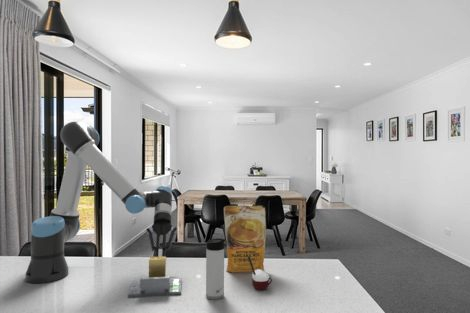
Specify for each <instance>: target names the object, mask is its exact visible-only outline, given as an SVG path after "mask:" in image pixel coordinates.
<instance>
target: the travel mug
mask: <svg viewBox="0 0 470 313" xmlns="http://www.w3.org/2000/svg"><path fill="white" fill-rule="evenodd" d="M225 242H226V238H221V237H220V238H219V237H218V238H212V239H209V240H207V241H206V249H205V250H206V252H205V254H206V255H205V257H206V258H205V263H206V264H205V265H206V266H205V269H206V270H205V279H206V280H205V285H206V286H205V296H206V298H207V299H208V300H211V301H213V300H214V301H215V300H217V301H218V300H221V299H223V298H224V296H225Z"/></svg>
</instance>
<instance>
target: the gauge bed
mask: <svg viewBox="0 0 470 313" xmlns="http://www.w3.org/2000/svg"><path fill="white" fill-rule="evenodd" d="M182 280H183V279H182V278H170V277H149V276H148V277H140V279H138V280H134V281H133V283H132V284H131V287H130V290H129V291H128V294H127V298H140V297H141V298H143V297H159V296H162V297H164V296H177V295H179V296H180V295H181V294H182Z"/></svg>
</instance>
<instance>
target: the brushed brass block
mask: <svg viewBox="0 0 470 313" xmlns="http://www.w3.org/2000/svg"><path fill="white" fill-rule="evenodd" d="M149 277H170V279H176V278H178V275H167V256H166V255H165V256H160V257H155V256H150V257H149V259H148V278H149Z"/></svg>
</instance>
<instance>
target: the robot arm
mask: <svg viewBox="0 0 470 313" xmlns="http://www.w3.org/2000/svg"><path fill="white" fill-rule="evenodd" d="M59 135H60V136H59V137H60V140H61V142H62V143H63V145H64V146H65V149H64V151H65V153H66V154H67V157H66V162H65V167H64V171H63V175H62V179H61V183H60V184H61V185H60V189H59V193H58V197H57V202H56V207H55V208H53V209H52V210H51V212H50V215H49V216H45V217H40V218H37V219H35V220H33V222H31V223H32V224H31V229H30V261H29V264H28V266H27V269H26V272H25V277H24V280H26V283H29V282H30V283H29V284H44V283H45V284H46V283H50V281H51V282H54V280H55V281H58V280H57V279H59V280H61V279H63V277H64V278H66V277H67V276H68V275H69V266H68V263H67V260H66V257H65V244H66V242H68V241H70V240H72V239H74V237H75V236H77V234H78V233H79V231H80V227H81V222H80V220H79V219H80V215H81V213H80V212H79V210H78V207H79V203H80V198H81V193H82V188H83V186H84V185H83V184H84V180H85V175H86V172H87V167H89V169H91V170H92V172H94V173H95V174H96V175H97V177H98V178H99V179H100V180H101V181H102V182H103V183H104V184H105V185H106V186H107V187H108V188H109V189H110V190H111V191H112V193H114V195H116V196H117V198H118V199H119V200H120V201H121V202H122V203H123V204H124V206H125V209H126V211H127V212H128V213H130V214H135V215H137V214H139V213H141V212H143V211H144V209H149V208H151V209H152V208H154V209H153V210H154V213H153V224H152V225H151V227H150V228H146V234H147V235H148V237H149V244H150V248H151V251H152V252H155V256H154V257H160V256H166V252H167V251H170V250H171V248H172V243H173V240H174V238H175V235H176V234H177V232H178V228H177V227H176V226H175V227H174V226H173V225H172V206H173V191H172V188H171V187H170V186H168V185H164V184H163V185H160V186H157V188H156V190H153V191H152V190H151V191H138V190H137V188H135V186H134V185H133V184H132V183H131V182H130V181H129V179H127V177H125V175H124V174H123V173H121V171H120V170H119V168H117V167H116V166H115V164H113V163H112V162H111V161H110V159H109V158H107V156H106V155H105V154H104V153H103V152H102V151H101V150H100V149H99V148H98V147H97V146H98V145H99V143H100V134H99V132H98V131H97V129H96V128H95V127H93V126H92V125H89V124H88V123H87V124H86V123H84V122H81V121H70V122H68V123H66V124H65V125H63V127H62V128H61V130H60V133H59ZM153 232H154V233H155V235H156V241H155V243H154V237H153ZM169 232H170V235H169ZM167 234H168V235H169V238H168V241H167ZM161 236H162V245H161V246H162V247H161V248H160V244H161V243H160V242H161ZM65 276H66V277H65ZM60 278H61V279H60Z"/></svg>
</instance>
